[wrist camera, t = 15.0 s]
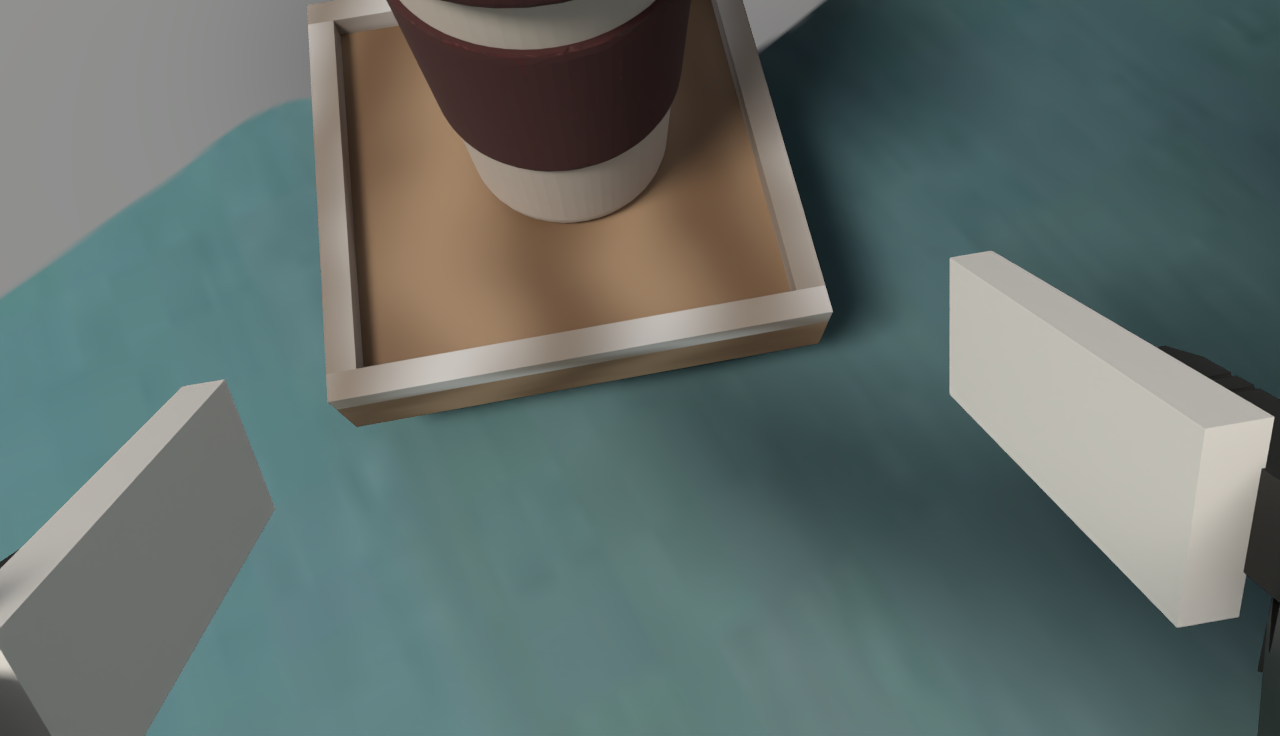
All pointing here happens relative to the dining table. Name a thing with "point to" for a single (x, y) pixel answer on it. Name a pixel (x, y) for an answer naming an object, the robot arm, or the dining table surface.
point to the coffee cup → (554, 93)
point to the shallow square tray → (544, 236)
